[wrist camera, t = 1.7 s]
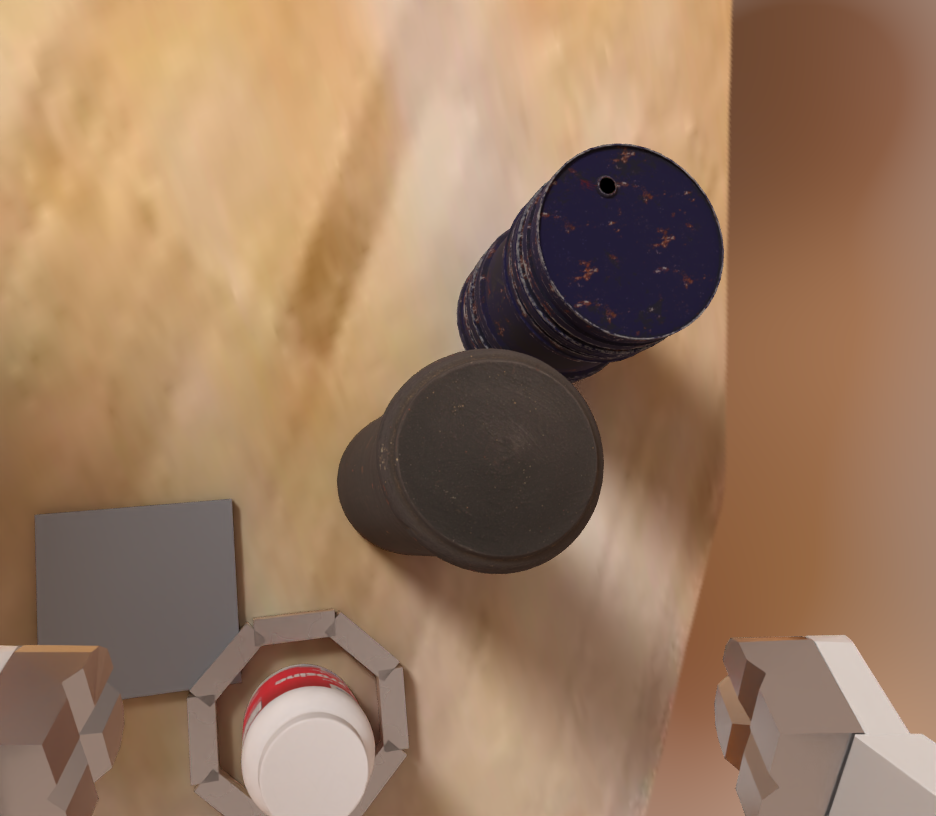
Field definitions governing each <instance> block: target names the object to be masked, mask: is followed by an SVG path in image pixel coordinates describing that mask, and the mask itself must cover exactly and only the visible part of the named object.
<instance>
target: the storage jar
mask: <svg viewBox="0 0 936 816" xmlns="http://www.w3.org/2000/svg"><path fill="white" fill-rule="evenodd" d="M723 258H724V248H723V239H722V233H721V229H720V225H719V221H718V219H717V216H716V214H715V211H714V209H713V206H712V205H711V203H710V201H709V199H708V198H707V196H706V194H705V193H704V191H703V190H702V189H701V187H700V186H699V185H698V183H697V182H696V181H695V180H694V179H693V178H692V177H691V176H690V175H689V174H688V173H687V172H686V171H685V170H684V169H683V168H682V167H680V166H679V165H678V164H676V163H675V162H674V161H672V160H671V159H669V158H667V157H665V156H664V155H662V154H660V153H658V152H655V151H653V150H650V149H648V148H644V147H640V146H636V145H631V144H607V145H601V146H597V147H594V148H590V149H588V150H586V151H584V152H581V153H579V154H577V155H576V156H574V157H573V158H572V159H570V160H569V161H567V162H566V163H565V164H564V165H563V166H562V167H561V168H560V169H559V170H558V171H557V172H556V173H555V175H554V176H553V177H552V178H551V179H550V180H549V181H548V182H547V183H545V184H544V185H543V186H542V187H541V188H540V189H539V190H538V191H537V192H536V193H535V195H534V196H533V197H532V198H531V199H530V201H529V202H528V203H527V204H526V205H525V206H524V207H523V208H522V209H521V211H520V212H519V214H518V215H517V217H516V218H515V220H514V221H513V224H512V226H511V228H510V229H509V230H507V231H506V232H505V233H503V234H502V235H501V236H499V237H498V238H497V239H496V241H495V242H494V243H493V244H492V245H491V246H490V248H489V249H488V250H487V251H486V252H485V254H484V255H483V256H482V257H481V259H480V260H479V262H478V263H477V265H476V266H475V268H474V270H473V271H472V272H471V273H470V275H469V276H468V278H467V279H466V281H465V283H464V285H463V287H462V290H461V292H460V296H459V300H458V307H457V325H458V330H459V334H460V338H461V340H462V343H463V346H464V348H465V350H466V351H467V350H474V349H489V348H493V349H505V350H511V351H515V352H519V353H523V354H526V355H529V356H532V357H534V358H537V359H539V360H541V361H543V362H544V363H546V364H548V365H549V366H551V367H552V368H554V369H556V370H557V371H558V372H559V373H561V374H562V375H563V376H564V377H565V378H566V379H567V380H568V381H570V382H571V383H574V382H577V381H579V380H581V379H584V378H587V377H589V376H592V375H593V374H595V373H597V372H598V371H600V370H601V369H603V368H604V367H605V366H606V365H607V364H609V363H610V362H615V361H621V360H623V359H626V358H629V357H632V356H634V355H635V354H637V353H639V352H641V351H643V350H646V349H648V348H650V347H652V346H654V345H655V344H657V343H659V342H661V341H662V340H664V339H665V338H666V337H668V336H670V335H672V334H674V333H677V332H678V331H680V330H682V329H684V328H685V327H687V326H689V325H690V324H691V323H692V322H694V321H695V320H696V319H697V318H698V317H699V316H700V315H701V314H702V313H703V312H704V310H705V309H706V308H707V307H708V306H709V304H710V302H711V300H712V299H713V297H714V295H715V293H716V291H717V288H718V285H719V282H720V280H721V274H722V269H723Z"/></svg>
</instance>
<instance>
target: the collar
mask: <svg viewBox="0 0 936 816" xmlns="http://www.w3.org/2000/svg"><path fill="white" fill-rule="evenodd" d="M253 623H254V627H253V626H252V625H251V624H250V623H248V622H246V623H245V624H244V625H243V626H242V628H241V629H240V630H239V632H238V633H237V635H236V636H235V637H234V638H233V639H232V640H231V642H230V643H229V644H228V645H227V646H226V647H225V649H224V650H223V651H222V652H221V653H220V654H219V656H218V657H217V658H216V659H215V660H214V662H213V663H212V664H211V665H210V666H209V667H208V669H207V670H206V671H205V672H204V673H203V674H202V676H201V677H200V678H199V679H198V680H197V681H196V683H195V684H194V685H193V686H192V687H191V688H190V692H191V694H188V697H187V711H188V733H189V755H190V777H191V785H195V790H194V792H195V793H196V794H197V795H199V796H200V797H201V798H202V799H204V800H205V801H206V802H207V803H209V804H210V805H211V806H213V807H214V808H215V809H216V810H218V811H219V812H220V813H221V814H223V815H224V816H268V815H267V814H265V813H264V812H263V811H262V810H260V809H259V807H258V806H257V805H256V804H255V803H254V801H253V800H252V799H251V797H250V795H249V793H248V791H247V789H246V788H245V787H244V786H243V785H241V784H240V783H239V782H238V781H236V780H235V779H234V778H233V777H231V776H230V775H229V774H228V773H226V772H225V771H224V770H222V769H221V768H220V767H219V751H218V731H217V711H216V700H217V698H218V697H219V696H220V695H221V694H222V692H223V691H224V690H225V689H226V688H227V686H228V685H229V684H230V683H231V682H232V680H233V679H234V678H235V677H236V676H237V675H238V673H239V672H240V671H241V670H242V669H243V667H244V666H245V665H246V664H247V663H248V661H249V660H250V659H251V658H252V657H253V655H254V654H255V653H256V652H257V651H258V649H259V648H260V647H261V646H262V645H270V644H277V643H285V642H293V641H301V640H309V639H316V638H324V637H330V638H332V639H333V640H334V641H335V642H336V643H338V644H339V645H340V646H341V647H342V648H344V649H345V650H346V651H347V652H348V653H350V654H351V655H352V656H353V657H354V658H356V659H357V660H358V661H359V662H360V663H362V664H363V665H364V666H365V667H366V668H368V669H369V670H370V671H371V672H372V673H374V674H375V675H376V687H377V700H378V714H379V727H380V742H379V743H378V744H377V746H376V747H375V760H374V766H373V770H372V773H371V776H370V779H369V781H368V783H367V786H366V789H365V792H364V794H363V796H362V798H361V800H360V802H359V803H358V805H357V806H356V808H355V809H354V810H353V811H352V812H351V813H350V814H349V815H348V816H362V815H363V814H364V813H365V811H366V810H367V809H368V807H369V806H370V805H371V803H372V802H373V800H374V799H375V798H376V796H377V795H378V794H379V792H380V791H381V790H382V788H383V787H384V786H385V784H386V783H387V782H388V780H389V779H390V778H391V776H392V775H393V774H394V772H395V771H396V770H397V768H398V767H399V766H400V764H401V763H402V761H403V760H404V759H405V757H406V756H407V754H406V753H405V751H404V750H403V749H408V748H409V741H408V728H407V715H406V703H405V690H404V677H403V667H402V666H401V665H399V664H398V663H399V662H400V661H399V660H398V659H396V658H395V657H394V656H393V655H392V654H390V653H389V652H388V651H387V650H386V649H384V648H383V647H382V646H381V645H380V644H378V643H377V642H376V641H375V640H374V639H372V638H371V637H370V636H369V635H368V634H366V633H365V632H364V631H363V630H362V629H360V628H359V627H358V626H357V625H356V624H354V623H353V622H352V621H351V620H350V619H348V618H347V617H346V616H345V615H344V614H342V613H341V612H340V611H339V610H338V612H337V613H336V614H335V612H334V610H333V609H324V610H316V611H307V612H299V613H290V614H282V615H274V616H265V617H257V618H253Z"/></svg>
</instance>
